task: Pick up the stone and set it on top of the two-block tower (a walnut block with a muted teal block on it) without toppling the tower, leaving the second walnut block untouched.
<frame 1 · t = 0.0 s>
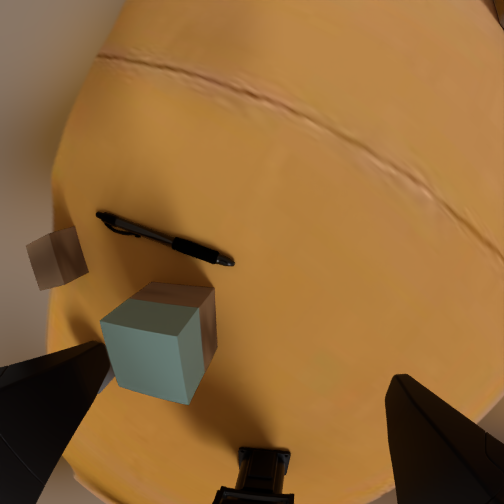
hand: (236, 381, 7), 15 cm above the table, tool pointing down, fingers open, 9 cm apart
tower base: (184, 314, 24), on the table, touching tower top
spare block: (68, 253, 25), on the table
stone: (102, 358, 28), on the table
tower top: (166, 337, 20), point 4 cm above the table, touching tower base
pen: (160, 237, 23), on the table
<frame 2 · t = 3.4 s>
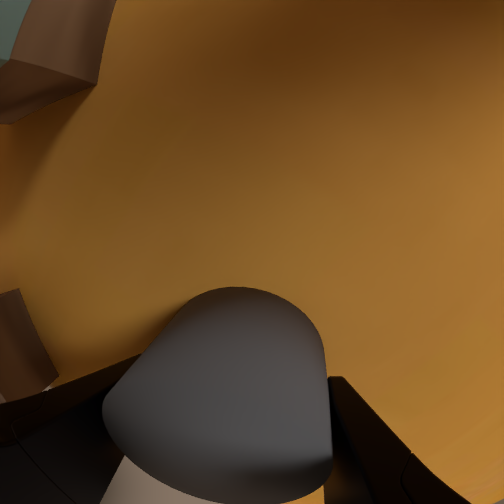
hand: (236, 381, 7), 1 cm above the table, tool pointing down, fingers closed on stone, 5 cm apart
tower base: (59, 44, 6), on the table, touching tower top
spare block: (20, 333, 11), on the table
stone: (243, 360, 8), on the table, touching gripper
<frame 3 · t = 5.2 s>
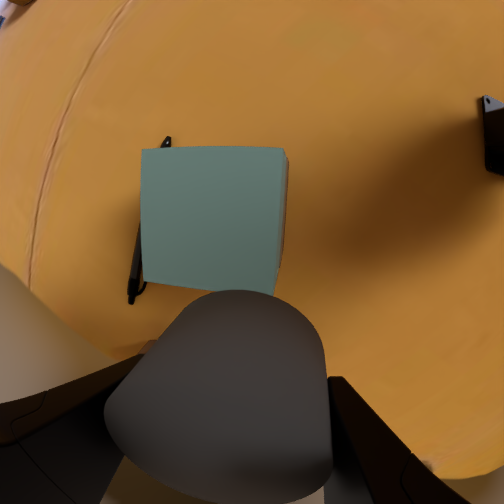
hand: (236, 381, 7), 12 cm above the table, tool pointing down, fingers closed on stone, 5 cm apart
stone: (243, 362, 8), point 11 cm above the table, touching gripper
tower top: (227, 210, 15), point 4 cm above the table, touching tower base
pen: (151, 226, 20), on the table
when the fingers open (10 cm above the table, at t = 7.0 s): stone drops 2 cm, resting on tower top.
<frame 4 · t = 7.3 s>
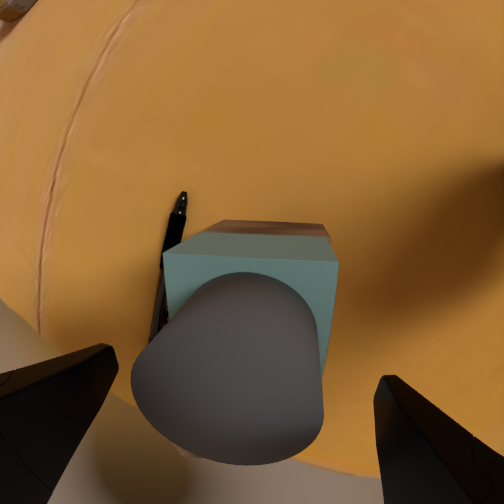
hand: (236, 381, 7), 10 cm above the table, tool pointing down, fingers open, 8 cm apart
tower base: (271, 268, 17), on the table, touching tower top
stone: (248, 336, 10), point 8 cm above the table, touching tower top
tower top: (260, 294, 14), point 4 cm above the table, touching stone, tower base
pen: (170, 287, 19), on the table
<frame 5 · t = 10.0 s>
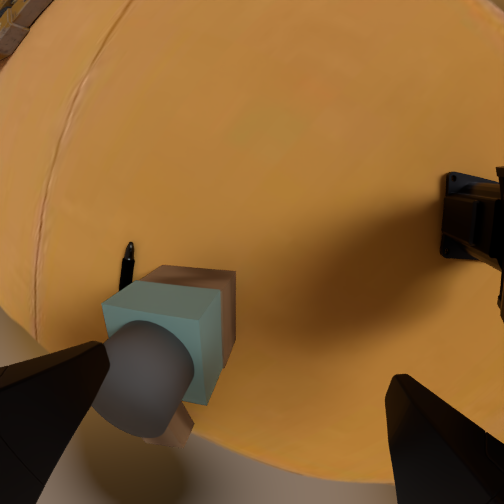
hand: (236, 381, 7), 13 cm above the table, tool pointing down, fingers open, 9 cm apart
tower base: (199, 303, 22), on the table, touching tower top
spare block: (167, 407, 26), on the table
stone: (153, 358, 14), point 8 cm above the table, touching tower top
tower top: (178, 325, 18), point 4 cm above the table, touching stone, tower base
pen: (129, 310, 24), on the table
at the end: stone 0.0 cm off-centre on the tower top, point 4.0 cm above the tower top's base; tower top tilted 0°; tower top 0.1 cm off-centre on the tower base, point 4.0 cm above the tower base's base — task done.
